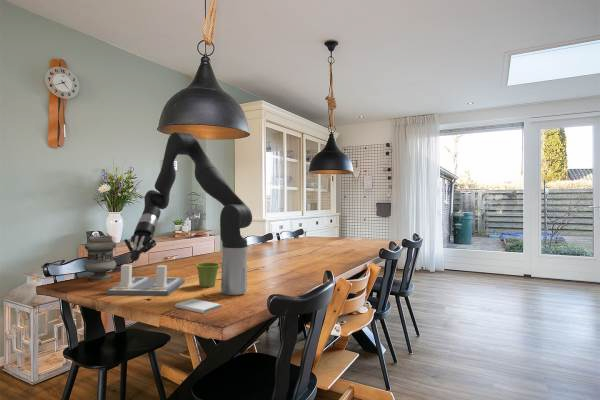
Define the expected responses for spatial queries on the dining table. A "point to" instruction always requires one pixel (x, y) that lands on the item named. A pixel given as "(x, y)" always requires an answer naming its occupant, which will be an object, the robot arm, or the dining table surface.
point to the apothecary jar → (100, 257)
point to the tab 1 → (126, 276)
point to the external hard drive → (198, 305)
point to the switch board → (146, 287)
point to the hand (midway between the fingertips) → (133, 259)
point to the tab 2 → (161, 276)
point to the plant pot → (207, 274)
